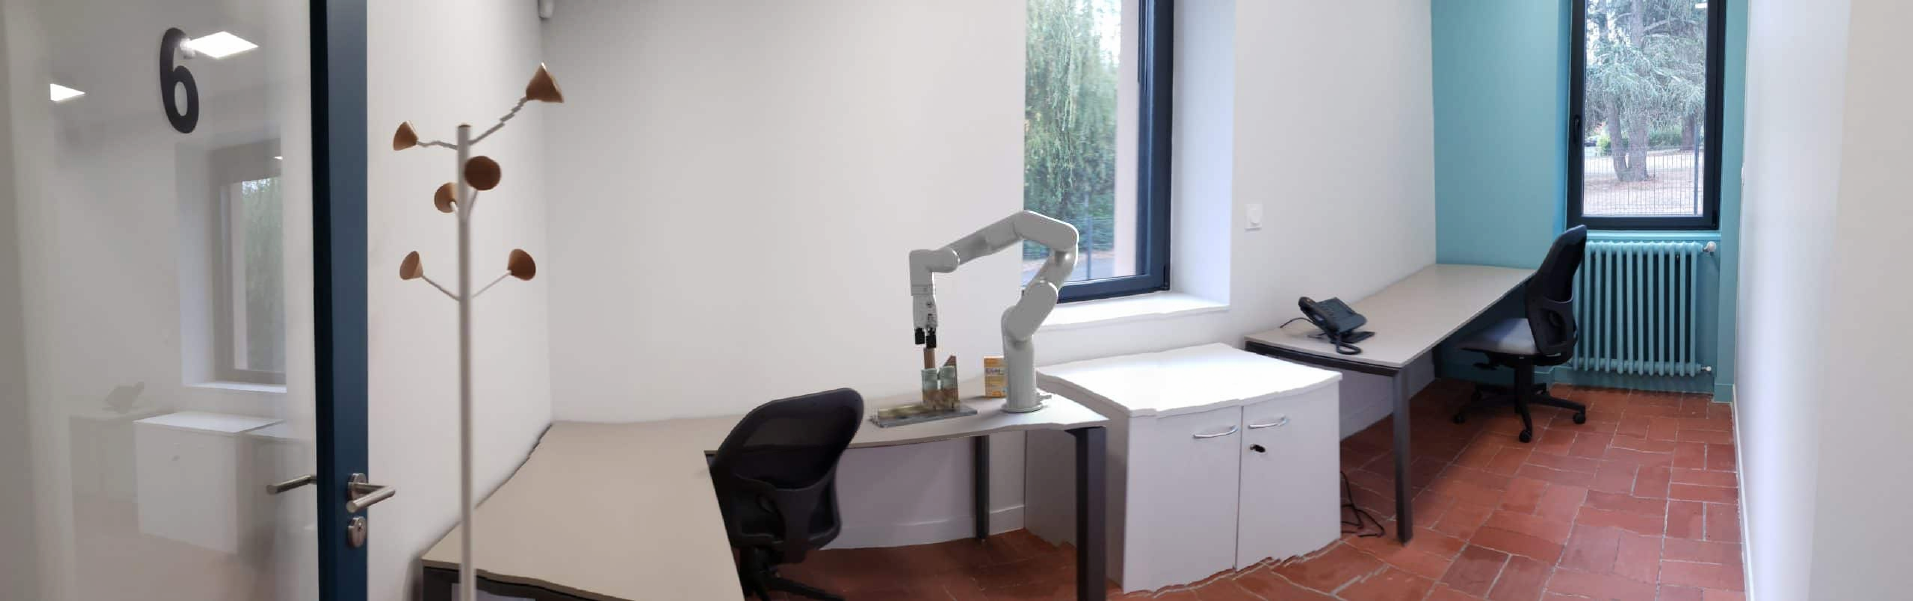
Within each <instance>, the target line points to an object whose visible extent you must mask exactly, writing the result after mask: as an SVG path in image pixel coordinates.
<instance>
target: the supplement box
mask: <svg viewBox="0 0 1913 601" xmlns="http://www.w3.org/2000/svg"><path fill="white" fill-rule="evenodd" d="M983 370H984V371H983V372H984V374H983V375H984V392H985V398H1006V391H1005V374H1004V355H984V357H983Z"/></svg>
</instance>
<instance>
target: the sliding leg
mask: <svg viewBox="0 0 1913 601" xmlns="http://www.w3.org/2000/svg"><path fill="white" fill-rule="evenodd" d="M937 371H938V370H937V369H934V368H930V369H925V368H924V369H921V371H920V373H921V374H920V375H921V394H922V396H921V397H922V404H923V403H925V404H927V405H929V406H933V411H936V405H939V390H938V389H939V388H938V386H939V384H938V380H937V373H938V372H937Z"/></svg>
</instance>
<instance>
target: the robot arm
mask: <svg viewBox="0 0 1913 601" xmlns="http://www.w3.org/2000/svg"><path fill="white" fill-rule="evenodd" d="M1079 239H1080V238H1079V232H1078V229H1077V228H1076V227H1075V226H1073V225H1072V224H1070V223H1068V222H1064V221H1062V220H1059V219H1056V218H1052V217H1048V216H1046V215H1043V214H1040V213H1037V212H1035V211H1032V210H1029V209H1023V210H1020V211H1018V212H1016V213H1013V214H1011V215H1009V216H1006V217H1005V218H1002V219H1000V220H998V221H996V222H994V223H991V224H988V225H987V226H985V227H982V228H979V229H978V230H976V231H974V232H972V233H971V234H968V235H966V236H964V237H961V238H959V239H957V240H955V241H953V242H951V243H948V244H946V245H944V246H942V247H940V248H939V249H935V250H932V249H929V248H928V249H927V248H921V249H920V248H918V249H912V250H911V251H910V252H909V254H908V262H909V264H908V265H909V282H910V283H909V284H910V296H911V297H912V321H913V327H914V328H913V331H914V344H915V345H916V346H918V345H925V347H926V348H927V349H932V348H934V349H936V348H937V346H938V344H937V328H938V327H939V317H938V306H937V300H936V295H937V294H936V293H937V292H936V290H937V289H936V273H940V274H950V273H953V272H955V271H956V270H958V268H959V267H960V266H961V265H964V264H966V263H968V262H971V261H973V260H976V259H979V258H981V257H987V256H992V255H994V254H997V253H1000V252H1002V251H1004V250H1006V249H1008V248H1010V247H1013V246H1014V245H1017V244H1020V243H1021V242H1023V241H1029V242H1031V243H1033V244H1037V245H1040V246H1044V247H1046V248H1048V249H1050V252H1049V255H1048V257H1047V259H1046V260H1045V261H1044V262H1043V264H1042V266H1041V267H1040V268H1039V270H1038V271H1037V272H1036V274H1035V275H1034V276H1033V278H1032V279H1031V280H1030V281H1029V282H1028V283H1027V284H1026V285H1025V288H1024V290H1023V295H1022V296H1021V298H1020V299H1019V300H1018V302H1017V303H1016V304H1015V305H1011V306H1010V307H1008V308H1006V309H1005V310H1004V312H1003V313H1002V316H1001V319H1000V327H1001V328H1000V330H1001V339H1002V340H1001V341H1002V354H1003V355H1002V356H1004V374H1005V391H1006V397H1005V402H1004V403H1002V404H1001V405H1000V406H1001V410H1002V411H1004V412H1006V413H1007V412H1008V413H1028V412H1034V411H1039V410H1041V409H1042V408H1043V403H1042V401H1044V400H1045V401H1046V400H1051V399H1052V397H1053V396H1052V393H1051V392H1047V393H1046V392H1045V393H1044V392H1038V390H1037V379H1036V378H1037V374H1036V359H1035V358H1036V354H1035V353H1036V352H1035V340H1034V334H1035V333H1036V332H1037V331H1038V329H1039V328H1040V327H1041V326H1042V324H1043V323H1044V322H1045V321H1046V319H1047V318H1048V316H1049V315H1050V314H1051V313H1052V311H1053V310H1054V309H1055V307H1056V305H1057V303H1058V300H1059V292H1060V290H1061V289H1062V287H1063V286H1064V285H1065V283H1066V282H1067V280H1068V279H1070V278H1069V277H1070V276H1071V274H1072V273H1073V272H1074V269H1076V268H1075V267H1076V265H1077V262H1078V258H1079V257H1078V255H1079V247H1078V243H1079Z"/></svg>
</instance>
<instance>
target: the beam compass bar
mask: <svg viewBox="0 0 1913 601" xmlns="http://www.w3.org/2000/svg"><path fill="white" fill-rule="evenodd" d="M939 371H940V380H939V381H940V385H939V386H940V387H939V389H940V390H941V400H942V401H939V405H936V410H938V409H945V408H952V409H954V407H959V406H960V403H961V400H960V398H957V387H955V386H956V376H955V367H954V366H945V367H943V366H939ZM931 410H933V406H929V405H927V404H925V403H923V402H922V403H918V404H911V405H904V406H903V405H902V406H897V407H890V408H888V407H887V408H882V409H877V415H878V417H880V418H884V417H890V416H897V415H904V414H911V413H918V412H924V411H931Z"/></svg>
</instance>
